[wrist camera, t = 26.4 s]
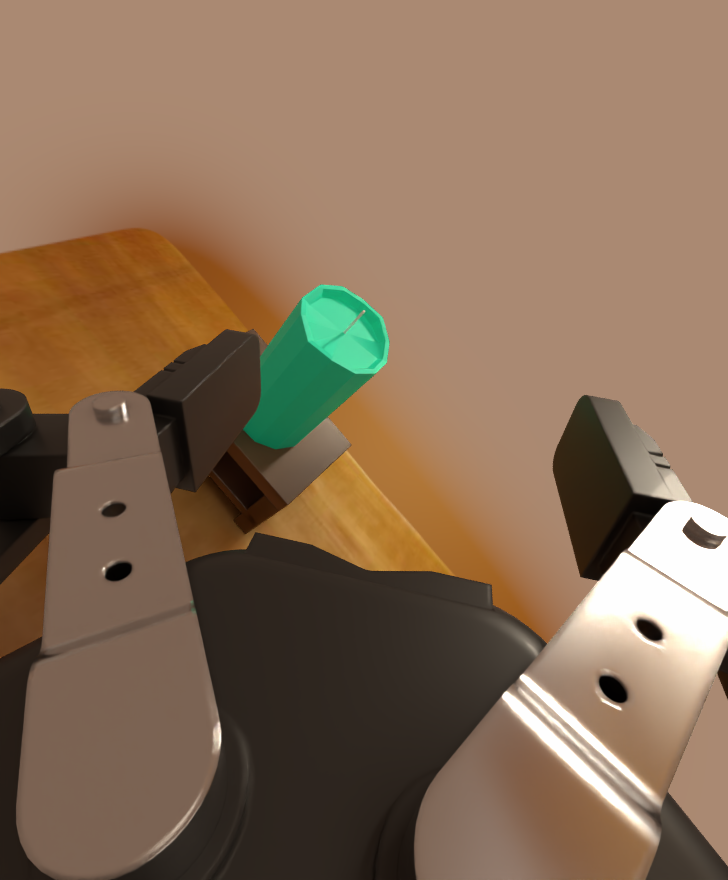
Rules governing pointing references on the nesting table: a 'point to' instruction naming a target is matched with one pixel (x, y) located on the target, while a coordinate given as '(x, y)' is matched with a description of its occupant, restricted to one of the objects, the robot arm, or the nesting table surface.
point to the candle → (316, 364)
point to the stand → (274, 469)
